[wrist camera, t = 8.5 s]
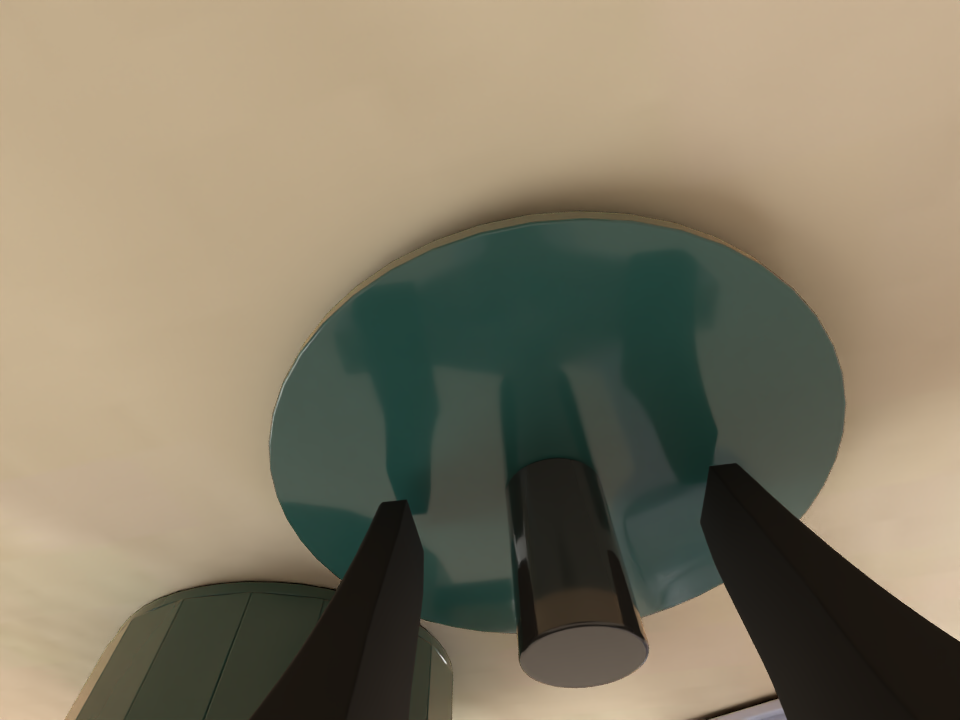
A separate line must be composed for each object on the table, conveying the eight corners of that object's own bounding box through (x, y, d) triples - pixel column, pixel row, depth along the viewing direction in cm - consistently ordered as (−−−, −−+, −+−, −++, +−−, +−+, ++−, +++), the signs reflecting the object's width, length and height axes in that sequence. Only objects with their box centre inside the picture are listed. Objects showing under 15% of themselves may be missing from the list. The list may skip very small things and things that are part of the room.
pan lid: (181, 252, 10) (-30, 421, 6) (898, 150, 9) (1268, 258, 5) (364, 619, 18) (331, 807, 13) (763, 581, 17) (863, 767, 13)
